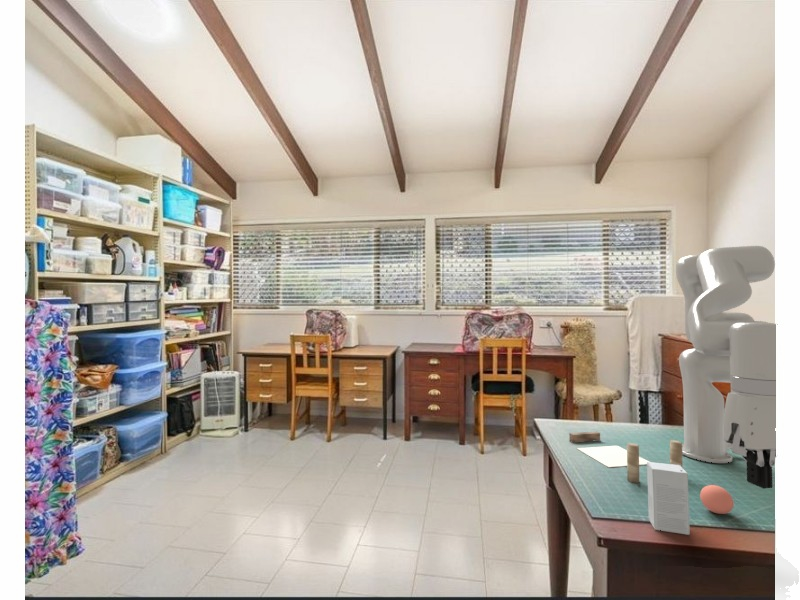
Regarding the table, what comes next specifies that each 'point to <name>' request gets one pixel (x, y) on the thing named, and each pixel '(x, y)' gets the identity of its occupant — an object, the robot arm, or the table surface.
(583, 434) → the wall
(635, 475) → the post
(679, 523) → the skincare box
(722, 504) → the ball
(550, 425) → the table surface
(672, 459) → the post
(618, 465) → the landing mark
